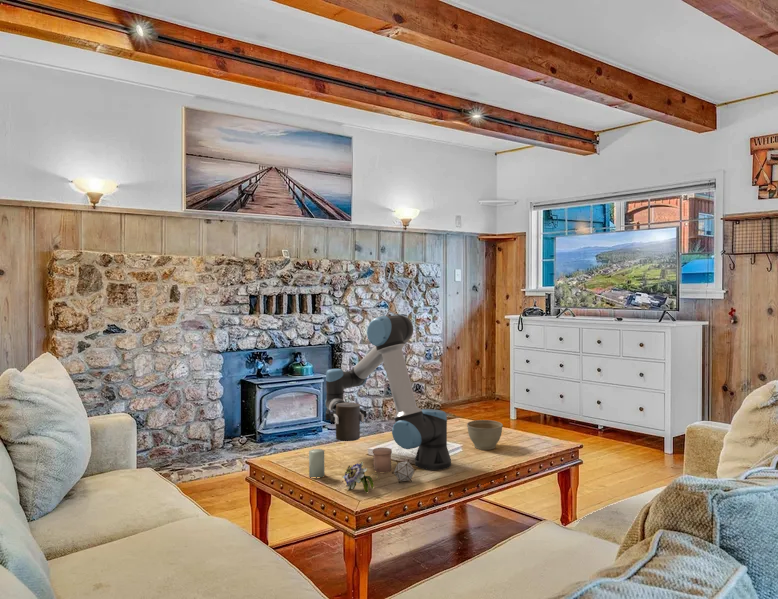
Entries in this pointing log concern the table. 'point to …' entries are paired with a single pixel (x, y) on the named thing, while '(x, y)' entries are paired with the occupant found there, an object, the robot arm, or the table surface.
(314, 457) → the pale green cylinder
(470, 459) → the table surface
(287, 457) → the table surface
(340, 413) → the pillar candle
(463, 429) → the table surface
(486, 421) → the planter bowl
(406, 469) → the game die
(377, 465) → the peach round-topped cylinder
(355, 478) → the passion flower
